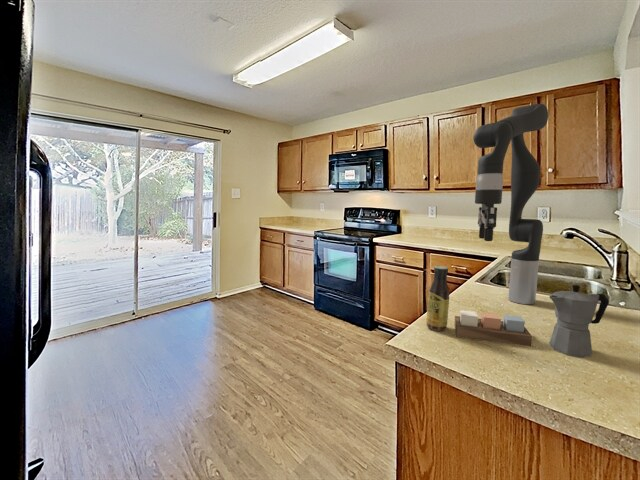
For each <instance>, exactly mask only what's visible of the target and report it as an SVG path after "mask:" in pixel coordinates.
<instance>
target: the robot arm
mask: <svg viewBox="0 0 640 480" xmlns="http://www.w3.org/2000/svg"><path fill="white" fill-rule="evenodd" d="M511 111H512V112H511V114H510V116H507V117H505V118H503V119H500V120H498V121H496V122H491V123H487V124H483V125H480V126H478V127H477V128H476V130H475V131H474V133H473V137H472V138H473V143H474V144H475V146H476V147H477V148H480V149H488V148H489V149H490V148H493V150H492V151H491V152H489V153H487V154H484V155H482V156H480V157H478V158H479V159H478V164H477V177H476V181H475V191H474V192H475V193H474V195H475V196H474V204H476V205H481V206H480V207H479V208H478V218H477V225H478V227H479V228H478V231H479V232H478V238H479V239H481V240H482V239H484V241H485V242H492V241H493V240H494V229H495V228H496V227H497V216H498V214H497V213H498V207H495V205H500V204H502V200H503V186H504V185H503V184H504V178H503V177H504V176H503V175H504V174H503V173H504V172H503V171H504V162H505V158H506V154H507V151H508V148H509V146H510V144H511V168H510V169H511V170H510V172H511V173H510V190H511V191H510V192H511V193H510V196H511V198H510V211H509V212H510V214H509V222H508V223H509V224H508V235H509V239H510V240H511V241H512V242H518V243H519V242H520V243H528V246H527V247H524V248H522V249H516V250H512V253H511V260H510V273H509V286H508V300H509V301H510V302H513V303H516V304H523V305H533V304H534V305H535V304H536V301H537V297H536V296H537V286H538V276H539V274H538V273H539V263H540V254H541V246H542V241H543V233H544V225H543V222H542V220H541V219H537V218H536V219H534V218H522V216H523V212H524V211H523V210H524V208H525V206H526V204H527V203H528V201H529V200H530V199H531V198H532V197H533V195H534V193H535V192H536V191H537V189H538V187H539V185H540V177H541V175H540V174H541V168H540V164H539V163H538V162H539V161H537V160H536V158H535V157H534V156H533V154H532V153H531V152H530V150H529V149H528V147H527V145H526V142H525V137H524V134H525V133H530V132H536V131H539V130H542V129H544V127H545V126H547V124H548V120H549V110H548V107H547V106H546V105H545V104H544V103H534V104H530V105H526V106H521V107H516V108H514V109H513V110H511Z"/></svg>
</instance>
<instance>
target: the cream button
mask: <svg viewBox="0 0 640 480" xmlns="http://www.w3.org/2000/svg"><path fill="white" fill-rule="evenodd" d="M459 316H460V325H466V326H475V327H477V325H478V319H479V316H478V313H477V311H473V310H463V309H461V310H460V314H459Z"/></svg>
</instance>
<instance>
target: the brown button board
mask: <svg viewBox="0 0 640 480" xmlns="http://www.w3.org/2000/svg"><path fill="white" fill-rule="evenodd" d="M453 325H454V329H455V334H456V338H462V339H468V340H469V339H471V340H477V341H485V342H491V343H492V342H493V343H500V344H508V345H515V346H522V347H523V346H524V347H530V348H531V347H532V344H533V342H532V341H533V336H532V334H531V332H530V331H529V330H528V329H527V328H526V326H525V325H524V332H517V331H508V330H505V329H504V327H503V320H501V325H500V329H492V328H483V327H482V326H481V318H478V325H477V327H475V326H466V325H460V315H459V316H458V315H454V324H453Z"/></svg>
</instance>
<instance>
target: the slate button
mask: <svg viewBox="0 0 640 480" xmlns="http://www.w3.org/2000/svg"><path fill="white" fill-rule="evenodd" d="M502 321H503V327H504V329H505V330H508V331H517V332H524V326H525V320H524V319H523V318H522V316H520V315H519V316H518V315H510V314H503V320H502Z"/></svg>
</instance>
